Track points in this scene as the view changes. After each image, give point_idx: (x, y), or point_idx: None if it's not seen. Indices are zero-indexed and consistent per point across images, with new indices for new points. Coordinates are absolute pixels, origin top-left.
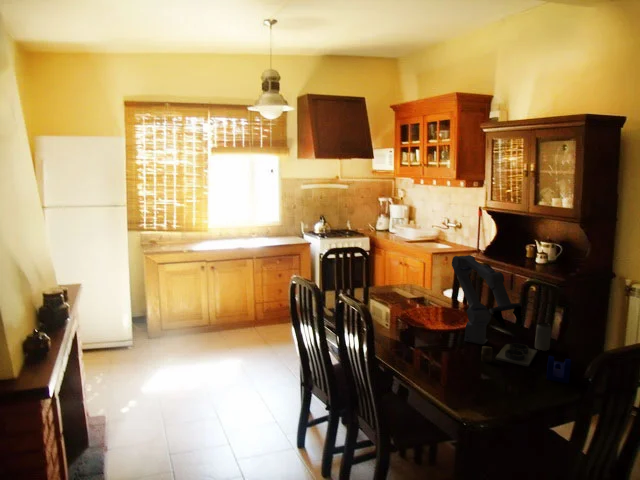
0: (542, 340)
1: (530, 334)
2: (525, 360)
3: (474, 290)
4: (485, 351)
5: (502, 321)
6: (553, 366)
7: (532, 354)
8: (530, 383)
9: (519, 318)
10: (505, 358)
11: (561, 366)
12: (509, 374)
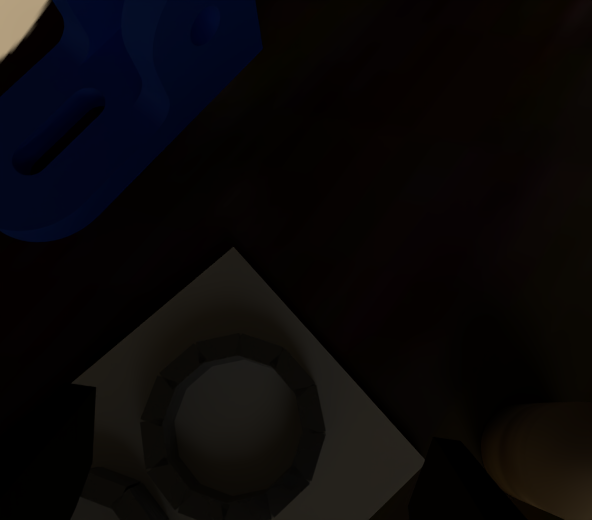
0: None
1: None
2: (200, 327)
3: None
4: None
5: (516, 515)
6: (92, 138)
7: None
8: (410, 23)
9: (44, 445)
10: (349, 410)
11: (32, 126)
12: (474, 166)
